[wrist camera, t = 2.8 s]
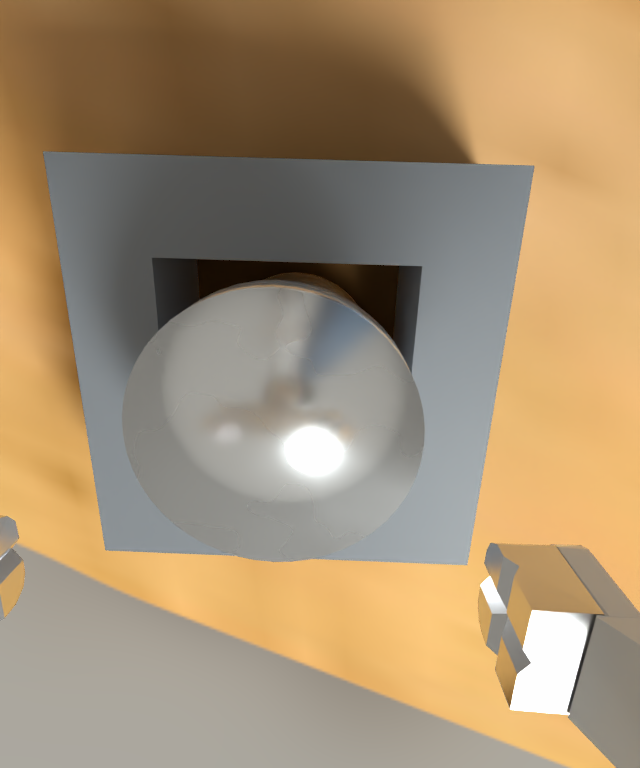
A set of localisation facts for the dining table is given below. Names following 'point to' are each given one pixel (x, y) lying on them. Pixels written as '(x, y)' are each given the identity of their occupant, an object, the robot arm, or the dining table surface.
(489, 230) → the housing
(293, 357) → the end cover
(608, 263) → the dining table surface
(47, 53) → the dining table surface
